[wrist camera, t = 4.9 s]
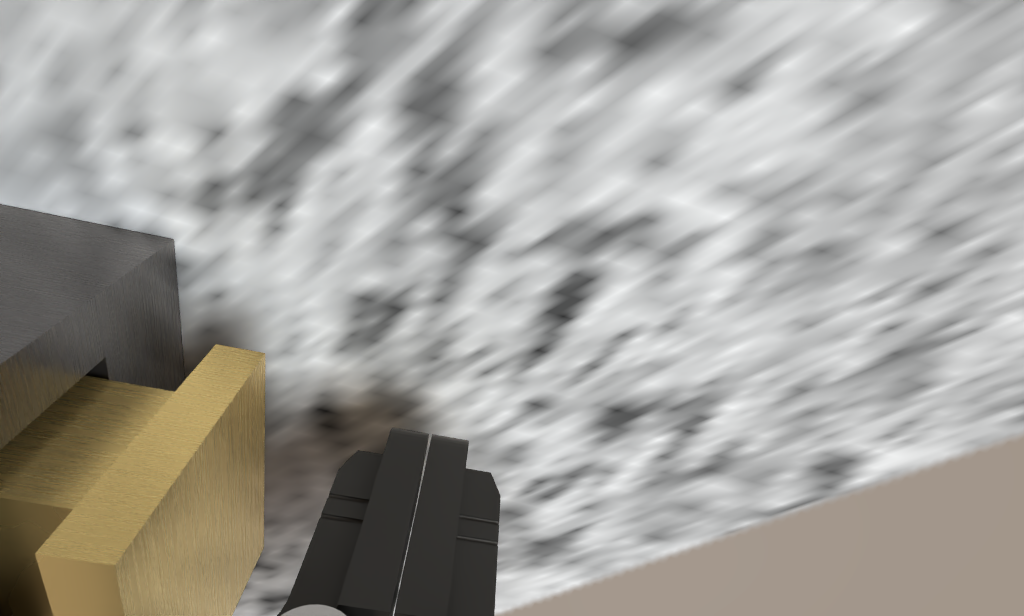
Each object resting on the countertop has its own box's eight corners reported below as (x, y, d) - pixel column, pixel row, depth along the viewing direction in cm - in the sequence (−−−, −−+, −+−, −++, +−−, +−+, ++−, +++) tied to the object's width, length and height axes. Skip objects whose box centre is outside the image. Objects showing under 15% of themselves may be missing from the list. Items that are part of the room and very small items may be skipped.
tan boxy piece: (-129, 279, 9) (-542, 464, 6) (264, 353, 10) (114, 565, 6) (-48, 498, 11) (-299, 723, 8) (263, 547, 12) (155, 779, 8)
